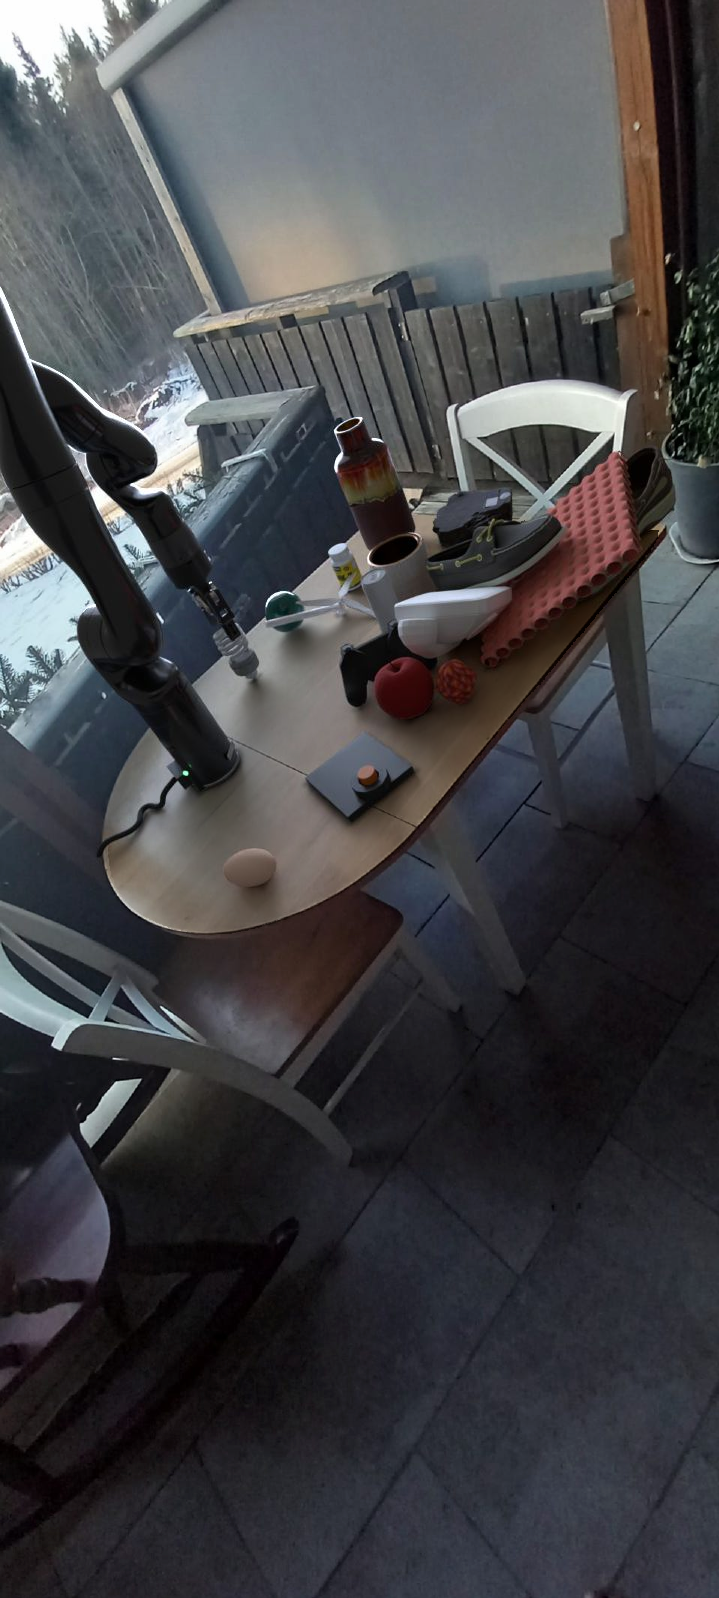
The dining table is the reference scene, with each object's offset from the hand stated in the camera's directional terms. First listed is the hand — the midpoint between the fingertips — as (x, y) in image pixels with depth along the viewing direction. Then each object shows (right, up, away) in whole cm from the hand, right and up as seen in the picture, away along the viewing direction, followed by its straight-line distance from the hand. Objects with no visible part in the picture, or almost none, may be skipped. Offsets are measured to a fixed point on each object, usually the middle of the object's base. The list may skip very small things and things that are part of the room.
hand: (226, 630), depth 135 cm
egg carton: (+55, +6, -18) cm, 59 cm away
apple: (+33, -16, -17) cm, 40 cm away
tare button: (+26, -28, -28) cm, 47 cm away
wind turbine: (+6, +2, +6) cm, 9 cm away
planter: (+34, +8, +6) cm, 35 cm away
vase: (+32, +22, +21) cm, 44 cm away
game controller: (+29, -10, -9) cm, 32 cm away
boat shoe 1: (+48, +6, -12) cm, 50 cm away
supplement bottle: (+23, +13, +17) cm, 31 cm away
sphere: (+11, +4, +14) cm, 18 cm away
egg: (+13, -39, -33) cm, 53 cm away
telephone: (+38, +2, -18) cm, 43 cm away
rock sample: (+47, +24, +15) cm, 55 cm away
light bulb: (+4, -7, +8) cm, 11 cm away
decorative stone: (+40, -16, -21) cm, 48 cm away
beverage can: (+31, -1, -1) cm, 31 cm away
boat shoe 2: (+67, +11, -9) cm, 69 cm away
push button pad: (+24, -27, -23) cm, 43 cm away
